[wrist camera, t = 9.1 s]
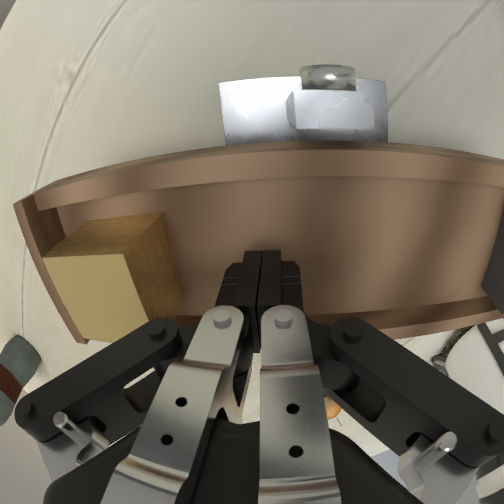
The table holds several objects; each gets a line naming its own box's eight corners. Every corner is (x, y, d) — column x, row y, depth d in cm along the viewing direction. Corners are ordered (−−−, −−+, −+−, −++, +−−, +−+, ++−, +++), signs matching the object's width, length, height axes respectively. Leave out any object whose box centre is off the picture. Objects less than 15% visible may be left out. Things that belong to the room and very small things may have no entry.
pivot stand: (378, 82, 16) (462, 71, 7) (368, 278, 25) (403, 369, 15) (222, 84, 18) (167, 63, 8) (246, 284, 26) (229, 380, 17)
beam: (535, 168, 9) (572, 188, 6) (503, 289, 14) (527, 321, 11) (55, 180, 14) (12, 204, 10) (101, 306, 18) (76, 342, 15)
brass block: (163, 211, 12) (122, 253, 9) (185, 296, 15) (161, 349, 11) (86, 221, 13) (41, 257, 10) (113, 293, 15) (83, 337, 12)
